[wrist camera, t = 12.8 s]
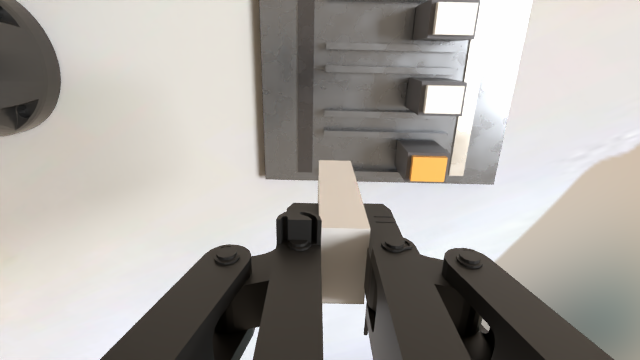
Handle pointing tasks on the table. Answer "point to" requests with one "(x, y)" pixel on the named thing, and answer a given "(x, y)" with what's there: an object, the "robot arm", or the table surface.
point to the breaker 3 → (421, 161)
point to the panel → (381, 86)
